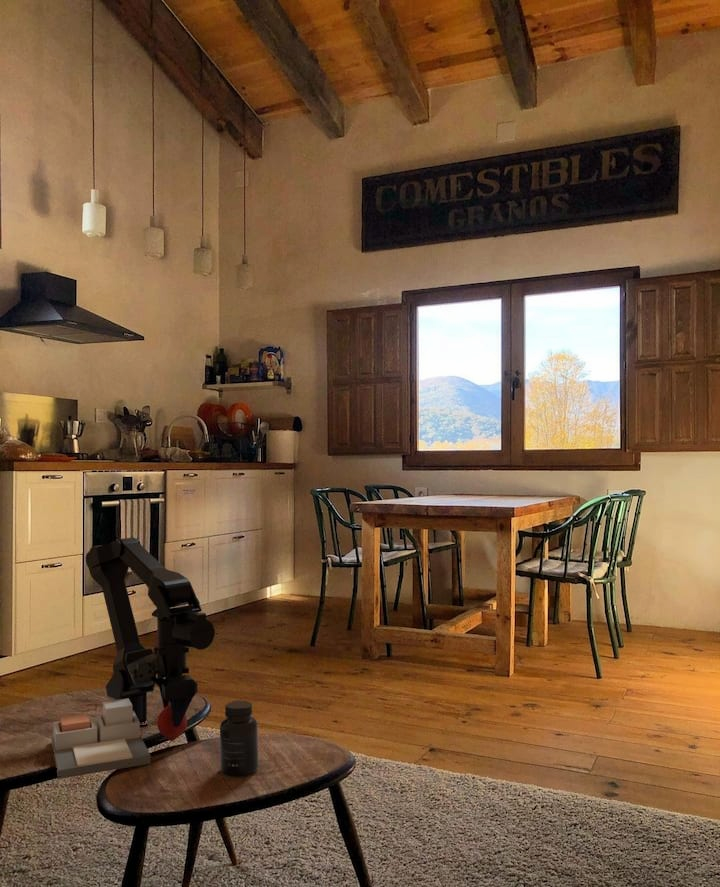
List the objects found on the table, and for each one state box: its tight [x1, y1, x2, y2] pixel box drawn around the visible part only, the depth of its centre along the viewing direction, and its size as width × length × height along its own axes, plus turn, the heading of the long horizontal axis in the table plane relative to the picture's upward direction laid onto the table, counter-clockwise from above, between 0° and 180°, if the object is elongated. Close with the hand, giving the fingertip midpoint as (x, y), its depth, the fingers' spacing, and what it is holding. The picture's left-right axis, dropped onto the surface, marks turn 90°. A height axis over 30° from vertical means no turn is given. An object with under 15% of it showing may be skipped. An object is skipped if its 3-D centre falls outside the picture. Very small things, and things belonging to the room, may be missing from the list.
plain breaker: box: [102, 698, 132, 726], centre depth 156 cm, size 5×5×4 cm
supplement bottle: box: [219, 699, 259, 778], centre depth 142 cm, size 7×7×12 cm
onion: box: [156, 702, 188, 742], centre depth 157 cm, size 6×6×8 cm
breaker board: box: [50, 711, 152, 780], centre depth 150 cm, size 16×19×4 cm
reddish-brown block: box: [59, 713, 90, 732], centre depth 153 cm, size 5×5×4 cm
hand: (171, 719), depth 157 cm, fingers open, 9 cm apart
